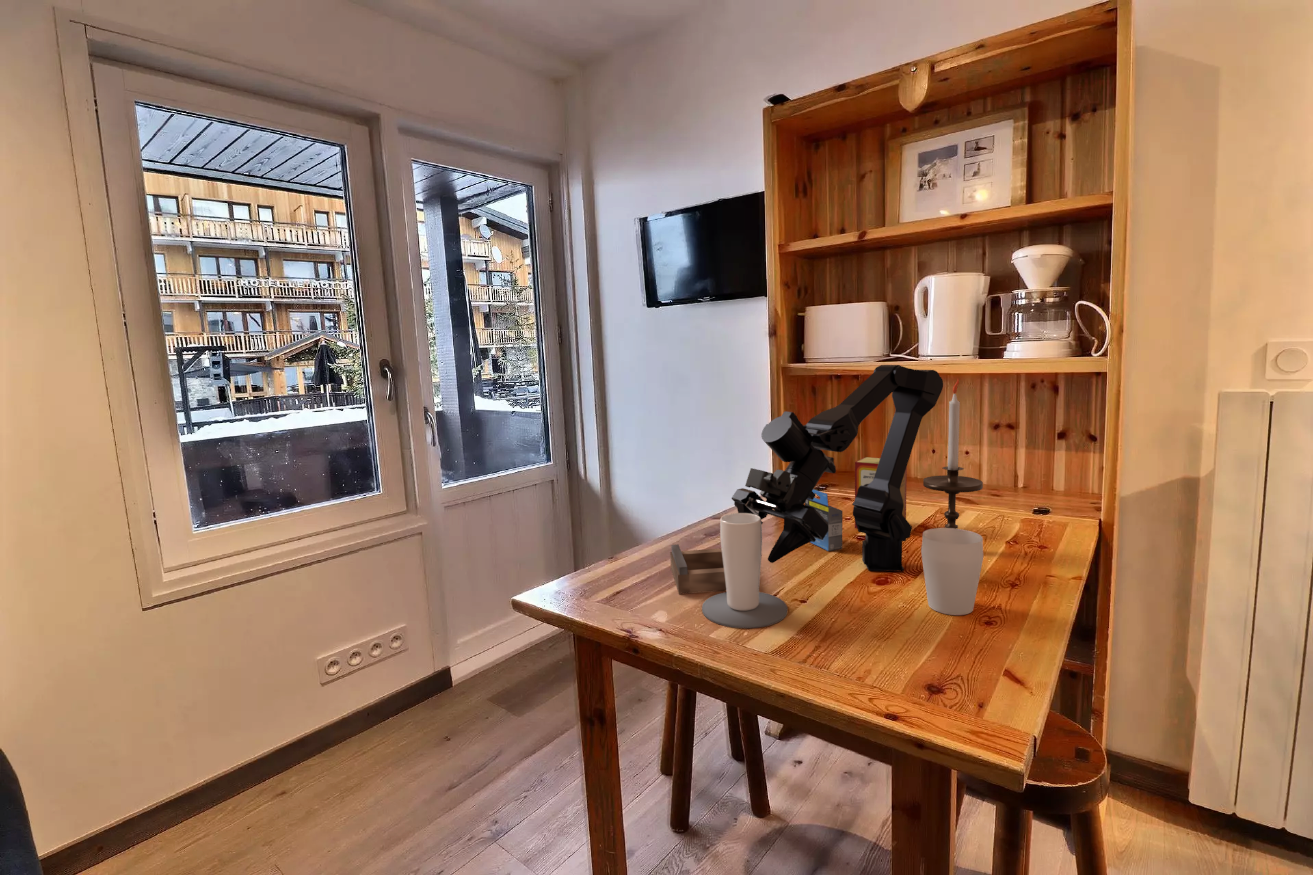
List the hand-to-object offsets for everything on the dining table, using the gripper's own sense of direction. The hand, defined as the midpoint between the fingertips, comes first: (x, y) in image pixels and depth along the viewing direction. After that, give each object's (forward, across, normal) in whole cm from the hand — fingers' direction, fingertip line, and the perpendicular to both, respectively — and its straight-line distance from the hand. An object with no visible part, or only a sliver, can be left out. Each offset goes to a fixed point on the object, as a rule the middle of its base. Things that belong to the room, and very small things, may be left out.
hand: (751, 553), depth 106 cm
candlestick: (-28, +2, +43) cm, 51 cm away
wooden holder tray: (+5, -15, +8) cm, 18 cm away
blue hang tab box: (-16, -16, +30) cm, 38 cm away
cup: (-11, +19, +25) cm, 33 cm away
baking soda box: (-30, -18, +44) cm, 56 cm away
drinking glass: (+8, 0, +5) cm, 9 cm away
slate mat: (+8, 0, +5) cm, 9 cm away
